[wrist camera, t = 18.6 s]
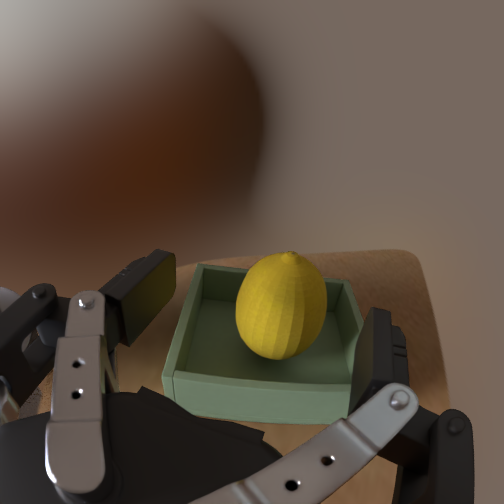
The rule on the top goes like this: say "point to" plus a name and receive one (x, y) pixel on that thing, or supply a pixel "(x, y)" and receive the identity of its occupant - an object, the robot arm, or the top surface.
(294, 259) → the lemon
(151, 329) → the top surface
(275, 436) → the top surface
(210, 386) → the bin
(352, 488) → the top surface
